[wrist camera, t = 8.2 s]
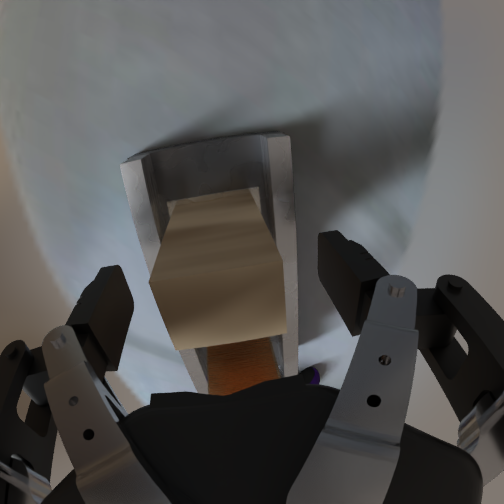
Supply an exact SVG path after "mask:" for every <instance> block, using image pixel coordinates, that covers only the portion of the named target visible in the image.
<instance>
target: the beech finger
mask: <svg viewBox="0 0 504 504" xmlns="http://www.w3.org/2000/svg"><path fill="white" fill-rule="evenodd" d="M149 285H150V287H151V290H152V293H153V295H154V298H155V301H156V303H157V306H158V308H159V311H160V314H161V316H162V319H163V321H164V324H165V326H166V328H167V331H168V333H169V336H170V338H171V340H172V343H173V345H174V347H175V349H176V350H184V349H192V348H200V347H208V346H215V345H222V344H229V343H235V342H241V341H247V340H253V339H259V338H264V337H269V336H275V335H280V334H285V333H287V322H286V304H285V286H284V271H283V260H282V257H281V255H280V253H279V251H278V249H277V247H276V245H275V242H274V240H273V238H272V236H271V234H270V232H269V230H268V228H267V225H266V223H265V221H264V219H263V217H262V215H261V213H260V211H259V209H258V207H257V205H256V202H255V200H254V198H253V196H252V194H251V193H250V194H244V195H237V196H231V197H225V198H219V199H213V200H207V201H201V202H195V203H190V204H185V205H179V206H175V207H174V210H173V212H172V215H171V218H170V220H169V223H168V226H167V229H166V231H165V234H164V237H163V240H162V243H161V246H160V249H159V252H158V255H157V258H156V261H155V264H154V267H153V270H152V273H151V276H150V280H149Z"/></svg>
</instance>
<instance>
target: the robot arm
mask: <svg viewBox="0 0 504 504" xmlns="http://www.w3.org/2000/svg"><path fill="white" fill-rule="evenodd" d="M318 274H319V278H320V281H321V283H322V285H323V286H324V288H325V290H326V291H327V293H328V295H329V296H330V298H331V300H332V302H333V303H334V305H335V307H336V309H337V310H338V312H339V314H340V316H341V317H342V319H343V321H344V323H345V324H346V326H347V328H348V330H349V331H350V333H351V335H352V337H353V336H356V335H360V337H359V340H358V343H357V346H356V349H355V352H354V355H353V358H352V361H351V363H350V366H349V369H348V372H347V374H346V377H345V380H344V382H343V385H342V387H341V390H339V389H337V388H333V387H330V386H325V385H318V384H305V381H304V378H303V375H302V374H298V375H293V376H289V377H284V378H279V379H274V380H268V381H264V382H261V383H259V384H256V385H254V386H251V387H248V388H246V389H243V390H240V391H238V392H235V393H232V394H229V395H225V396H221V395H211V394H202V393H194V392H173V393H154V394H151V400H150V405H147V406H144V407H141V408H139V409H137V410H135V411H133V412H132V413H130V414H128V413H127V412H126V410H125V409H124V407H123V406H122V404H121V402H120V401H119V400H118V398H117V396H116V394H115V393H114V391H113V389H112V388H111V386H110V384H109V383H108V381H107V380H106V378H105V377H104V376H105V372H106V371H117V370H118V366H119V362H120V358H121V354H122V350H123V346H124V343H125V339H126V335H127V332H128V328H129V325H130V321H131V318H132V315H133V311H134V301H133V297H132V294H131V292H130V289H129V287H128V284H127V282H126V279H125V276H124V274H123V271H122V269H121V267H120V266H119V265H114V266H108V267H102V268H101V269H100V270H99V272H98V274H97V276H96V277H95V279H94V281H92V282H91V283H90V284H89V285H88V286H87V287H86V288H85V289H84V291H83V292H82V294H81V296H80V298H79V300H78V301H77V303H76V304H77V305H75V307H74V309H73V311H72V313H71V315H70V317H69V318H68V321H67V322H66V324H65V325H63V326H59V327H56V328H54V329H53V330H51V331H50V332H49V333H48V334H47V335H46V336H45V338H44V339H43V342H42V346H41V347H38V348H35V349H32V350H29V348H28V347H27V345H26V344H25V342H23V341H22V340H16V341H13V342H12V343H10V344H9V345H7V346H6V347H5V349H4V350H3V352H2V353H1V355H0V504H481V500H482V492H483V486H485V485H486V484H487V483H489V482H490V481H491V480H493V479H494V478H495V477H496V476H498V475H499V474H500V473H501V472H502V471H504V321H503V319H501V317H500V316H499V315H498V314H497V313H496V312H495V310H494V309H492V307H491V306H490V305H489V304H488V303H487V302H486V301H485V300H484V298H483V297H481V295H480V294H479V293H478V292H477V291H476V290H475V289H474V288H473V287H472V286H471V285H470V284H469V283H468V282H467V281H466V280H464V279H462V278H461V277H458V276H455V275H443V276H441V277H439V278H438V280H437V283H436V287H435V288H425V289H417V287H416V285H415V284H414V283H413V282H412V281H411V280H409V279H407V278H406V277H403V276H399V275H390V274H389V273H388V272H387V271H386V270H385V269H384V268H383V267H382V266H381V265H380V264H379V263H378V262H377V260H376V259H374V258H373V256H372V255H371V254H370V253H368V251H367V250H366V249H365V248H364V247H363V246H362V245H360V244H358V243H356V242H354V241H352V240H349V241H348V240H347V239H346V238H345V237H344V236H343V235H342V234H341V233H340V232H339V231H338V230H335V231H328V232H322V233H319V235H318ZM456 330H458V331H459V332H460V334H461V335H462V336H463V338H464V339H465V340H466V342H467V344H468V348H469V351H468V356H467V354H466V353H465V351H464V350H463V348H462V347H461V346H460V344H459V343H458V341H457V340H456V339H455V337H454V335H455V333H456ZM417 349H419V350H420V352H421V353H422V355H423V357H424V358H425V360H426V362H427V363H428V365H429V367H430V368H431V370H432V372H433V373H434V375H435V377H436V379H437V380H438V382H439V384H440V386H441V388H442V389H443V391H444V393H445V395H446V397H447V398H448V400H449V402H450V404H451V406H452V408H453V410H454V411H455V414H456V415H457V417H458V419H459V421H460V425H459V430H458V437H459V439H458V441H457V446H458V447H457V446H454V445H452V444H450V443H447V442H445V441H443V440H440V439H438V438H436V437H434V436H431V435H429V434H427V433H425V432H423V431H421V430H418V429H416V428H414V427H412V426H410V425H408V424H406V423H404V422H405V418H406V414H407V409H408V405H409V399H410V394H411V389H412V383H413V376H414V370H415V363H416V356H417ZM22 389H23V390H24V392H25V393H26V394H27V395H28V396H29V397H30V398H31V402H30V405H29V408H28V412H27V415H26V419H25V423H24V422H23V421H22V420H21V419H20V418H19V416H18V414H17V408H16V407H17V403H18V400H19V397H20V394H21V391H22ZM57 431H58V432H59V435H60V437H61V439H62V442H63V445H64V447H65V449H66V452H67V454H68V456H69V458H70V461H71V463H72V465H73V467H74V469H73V470H72V471H71V472H70V473H69V474H68V475H67V476H66V477H65V478H64V479H63V480H62V481H61V482H60V483H59V484H58V485H57V486H56V487H55V488H54V489H53V490H52V489H51V486H50V476H51V468H52V460H53V453H54V447H55V441H56V436H57Z"/></svg>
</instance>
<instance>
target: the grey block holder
mask: <svg viewBox="0 0 504 504" xmlns="http://www.w3.org/2000/svg"><path fill="white" fill-rule="evenodd" d="M120 168H121V172H122V177H123V181H124V185H125V189H126V194H127V198H128V202H129V205H130V209H131V213H132V217H133V220H134V224H135V228H136V231H137V235H138V238H139V241H140V245H141V248H142V251H143V254H144V258H145V261H146V264H147V267H148V270H149V273H150V276H151V273H152V270H153V267H154V264H155V261H156V258H157V255H158V252H159V249H160V246H161V243H162V240H163V237H164V234H165V231H166V229H167V226H168V223H169V220H170V218H171V215H172V212H173V210H174V207H175V206H179V205H185V204H190V203H195V202H201V201H207V200H213V199H219V198H225V197H231V196H237V195H244V194H250V193H251V194H252V196H253V198H254V200H255V202H256V205H257V207H258V209H259V211H260V213H261V215H262V217H263V219H264V221H265V223H266V225H267V228H268V230H269V232H270V234H271V236H272V238H273V240H274V242H275V245H276V247H277V249H278V251H279V253H280V255H281V257H282V260H283V271H284V286H285V304H286V322H287V333H285V334H280V335H275V336H269V337H264V338H259V339H253V340H247V341H241V342H235V343H229V344H222V345H215V346H208V347H200V348H192V349H184V350H179V352H180V354H181V357H182V359H183V361H184V364H185V366H186V368H187V370H188V373H189V375H190V377H191V379H192V381H193V383H194V386H195V388H196V390H197V392H198V393H202V394H211V395H221V396H225V395H229V394H232V393H235V392H238V391H240V390H243V389H246V388H248V387H251V386H254V385H256V384H259V383H261V382H264V381H268V380H274V379H279V378H281V376H280V372H279V368H278V365H280V369H281V372H282V376H283V378H284V377H289V376H293V375H298V275H297V243H296V220H295V201H294V184H293V169H292V155H291V143H290V136H288V135H285V134H284V132H280V131H271V132H261V133H251V134H243V135H235V136H228V137H221V138H214V139H208V140H202V141H196V142H190V143H185V144H180V145H175V146H170V147H165V148H160V149H156V150H151V151H147V152H143V153H139V154H135V155H133V156H131V157H129V158H128V160H127V161H125V162H123V163H122V164H120Z"/></svg>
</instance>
